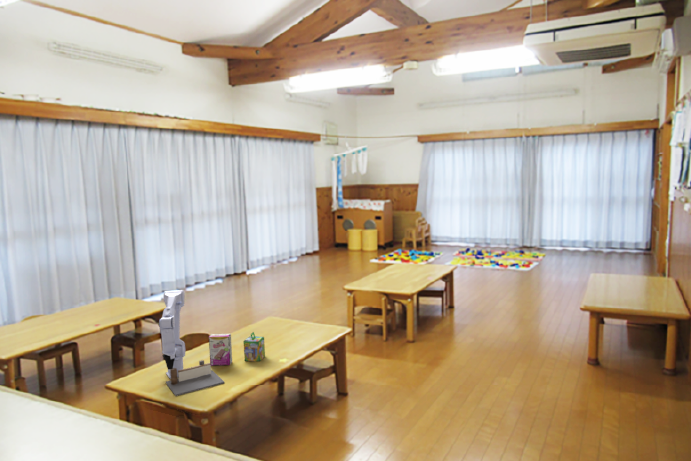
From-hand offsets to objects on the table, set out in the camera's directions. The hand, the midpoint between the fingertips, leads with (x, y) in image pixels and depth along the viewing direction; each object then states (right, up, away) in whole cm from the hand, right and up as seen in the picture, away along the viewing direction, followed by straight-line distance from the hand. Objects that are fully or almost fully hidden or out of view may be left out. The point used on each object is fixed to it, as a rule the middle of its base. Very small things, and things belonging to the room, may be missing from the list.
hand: (170, 368), depth 230 cm
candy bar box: (+17, -6, +29) cm, 34 cm away
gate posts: (+6, -8, +8) cm, 13 cm away
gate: (+9, -7, +9) cm, 15 cm away
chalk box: (+34, -5, +36) cm, 50 cm away
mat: (+10, -9, +5) cm, 14 cm away
